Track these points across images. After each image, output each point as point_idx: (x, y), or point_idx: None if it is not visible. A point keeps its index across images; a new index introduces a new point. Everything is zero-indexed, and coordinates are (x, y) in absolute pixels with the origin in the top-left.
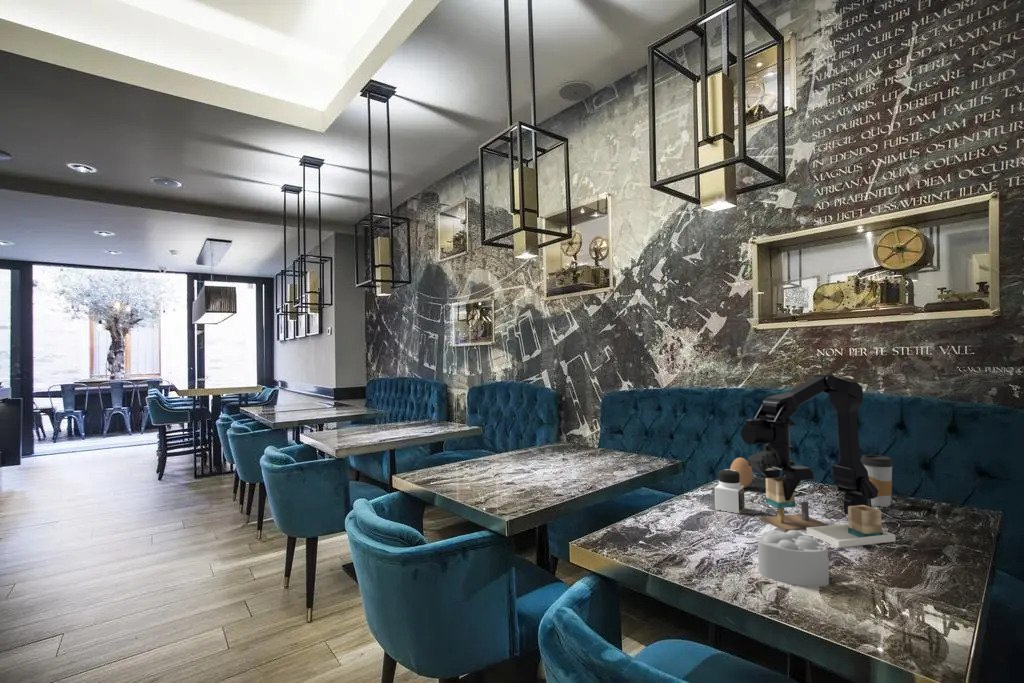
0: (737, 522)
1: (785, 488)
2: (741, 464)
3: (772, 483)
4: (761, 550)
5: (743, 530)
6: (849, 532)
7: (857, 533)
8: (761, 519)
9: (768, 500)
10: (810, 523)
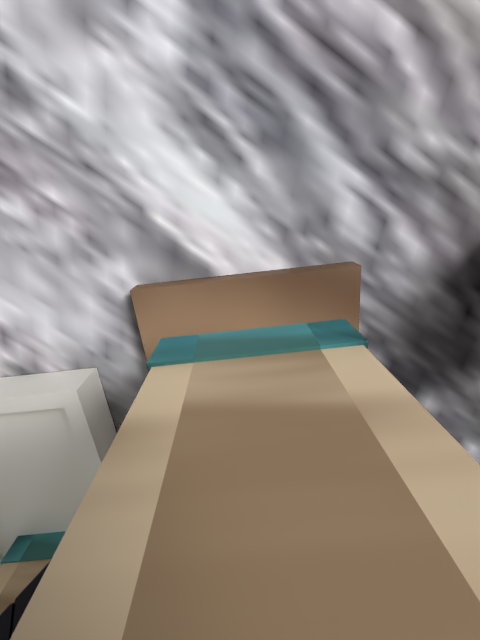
0: (374, 85)
1: (14, 627)
2: None
3: (266, 601)
4: None
5: (208, 18)
6: None
7: (48, 545)
8: (339, 267)
9: (313, 336)
10: None
